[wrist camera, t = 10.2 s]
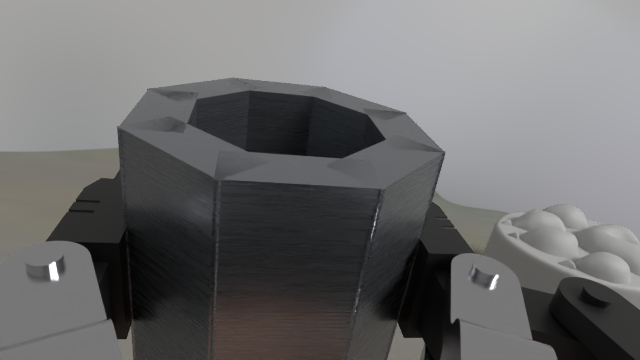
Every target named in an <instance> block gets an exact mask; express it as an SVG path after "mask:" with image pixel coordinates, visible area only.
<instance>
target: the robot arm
mask: <svg viewBox="0 0 640 360" xmlns="http://www.w3.org/2000/svg"><path fill="white" fill-rule="evenodd" d="M397 322H398V324H399V327H400V329H401V332H402V334H403V337H404V338H423V340H424V342H425V344H424V347H423V351H422V354H421V358H420V360H640V310H639V309H638V308H637V307H636V306H634V305H633V304H632V303H630V302H629V301H628V300H626V299H625V298H624V297H622V296H621V295H620V294H618V293H617V292H615V291H614V290H612V289H610V288H609V287H607V286H605V285H603V284H600V283H598V282H595V281H593V280H589V279H586V278H581V277H567V278H564V279H562V280H561V281H560V283H559V285H558V287H557V289H556V292H555V294H551V293H546V292H542V291H538V290H533V289H529V288H525V287H521V286H520V282H519V279H518V277H517V276H516V274H515V273H514V272H513V271H512V270H511V269H510V268H508V267H507V266H506V265H504V264H502V263H501V262H499V261H497V260H495V259H493V258H490V257H487V256H484V255H480V254H475V253H474V252H473V251H472V249H471V248H470V247H469V245H468V244H467V243H466V241H465V240H464V239H463V237H462V236H461V235H460V233H459V232H458V231H457V229H454V225H453V224H452V223H451V222H450V220H447V216H446V215H445V214H444V212H443V211H442V210H441V208H440V207H439V206H438V205H436V204H435V203H433V202H431V206H430V209H429V213H428V216H427V220H426V224H425V227H424V231H423V234H422V238H421V239H420V243H419V246H418V250H417V253H416V257H415V261H414V264H413V268H412V271H411V275H410V278H409V282H408V285H407V289H406V292H405V296H404V300H403V303H402V307H401V310H400V314H399V317H398V321H397ZM131 323H132V313H131V298H130V283H129V268H128V254H127V239H126V228H125V226H124V216H123V201H122V187H121V172H120V170H119V172H118V173H117V175H116V177H115V178H114V179H107V178H101V179H99V180H97V181H96V182H94V183H92V184H90V185H89V186H87V187H85V188H84V189H83V191H82V192H81V193H80V195H79V196H78V198H77V199H76V202H74V203H73V204H72V206H71V207H70V209H69V212H67V213H66V214H65V216H64V217H63V218H62V220H61V221H60V222H59V224H58V225H57V227H56V228H55V229H54V231H53V232H52V233H51V235H50V236H49V238H48V239H47V240H46V242H41V243H37V244H33V245H30V246H27V247H24V248H22V249H19V250H18V251H16V252H14V253H12V254H11V255H9V256H8V257H6V258H5V259H4V260H3V261H2V262H1V263H0V360H123V359H122V355H121V352H120V348H119V344H118V340H117V339H127V336H128V332H129V329H130V326H131Z"/></svg>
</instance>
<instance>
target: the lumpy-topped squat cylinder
mask: <svg viewBox="0 0 640 360" xmlns="http://www.w3.org/2000/svg"><path fill="white" fill-rule="evenodd" d="M483 255H484V256H487V257H490V258H493V259H495V260H497V261H499V262H501V263H502V264H504V265H506V266H507V267H508V268H510V269H511V270H512V271H513V272H514V273H515V274H516V276H517V277H518V279H519V282H520V286H521V287H525V288H529V289H533V290H538V291H542V292H546V293H551V294H555V292H556V289H557V287H558V285H559V283H560V281H561V280H562V279H564V278H567V277H581V278H586V279H589V280H593V281H595V282H598V283H600V284H603V285H605V286H607V287H609V288H610V289H612V290H614V291H615V292H617V293H618V294H620V295H621V296H622V297H624V298H625V299H626V300H628V301H629V302H630V303H632V304H633V305H634V306H636V307H637V308H638V309H639V310H640V241H639V240H638V239H637V238H636V237H635V235H634V234H633V233H632V232H631V231H629V230H628V229H626V228H624V227H622V226H618V225H612V224H602V223H599V222H595V221H591V220H586V218H585V215H584V214H583V213H582V211H581V210H579V209H578V208H575V207H573V206H570V205H564V204H563V205H562V204H560V205H554V206H551V207H548V208H546V209H544V210H542V211H537V210H531V211H525V212H515V213H510V214H507V215H505V216H503V217H501V218H500V219H499V220H498V221H497V222H496V224H495V226H494V228H493V231H492V233H491V236H490V238H489V241H488V243H487V246H486V248H485V251H484V253H483Z"/></svg>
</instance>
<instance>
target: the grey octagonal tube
mask: <svg viewBox="0 0 640 360" xmlns="http://www.w3.org/2000/svg"><path fill="white" fill-rule="evenodd" d="M117 129H118V144H119V158H120V172H121V187H122V201H123V216H124V226H125V228H126V239H127V254H128V268H129V283H130V298H131V313H132V323H131V331H132V345H133V360H387V358H388V355H389V351H390V348H391V344H392V340H393V337H394V333H395V330H396V326H397V323H398V322H397V321H398V317H399V314H400V310H401V307H402V303H403V300H404V296H405V292H406V289H407V285H408V282H409V278H410V275H411V271H412V268H413V264H414V261H415V257H416V253H417V250H418V246H419V243H420V239H421V238H422V234H423V231H424V227H425V224H426V220H427V216H428V213H429V209H430V206H431V202H432V199H433V195H434V192H435V188H436V184H437V181H438V177H439V174H440V170H441V167H442V163H443V160H444V156H445V151H443V150H442V149H441V148H440V147H439V146H438V145H437V144H436V143H435V142H434V141H433V140H432V139H431V138H430V137H429V136H428V135H427V134H426V133H425V132H424V131H423V130H422V129H421V128H420V127H419V126H418V125H417V124H416V123H415V122H414V121H413V120H412V119H411V118H410V117H409V116H408V115H407V113H405V112H401V111H398V110H395V109H392V108H389V107H386V106H383V105H379V104H376V103H373V102H370V101H367V100H364V99H361V98H357V97H354V96H351V95H348V94H345V93H341V92H339V91H335V90H332V89H329V88H326V87H318V86H309V85H299V84H289V83H278V82H268V81H259V80H248V79H239V78H228V79H220V80H213V81H206V82H198V83H190V84H182V85H174V86H168V87H159V88H152V89H150V88H149V89H147V92H146V93H145V95H144V96H143V97H142V98H141V100H140V101H139V102H138V103H137V105H136V106H135V107H134V108H133V110H132V111H131V112H130V114H129V115H128V116H127V117H126V119H125V120H124V121H123V122H122V124H121V125H120V126H118V127H117Z"/></svg>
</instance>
